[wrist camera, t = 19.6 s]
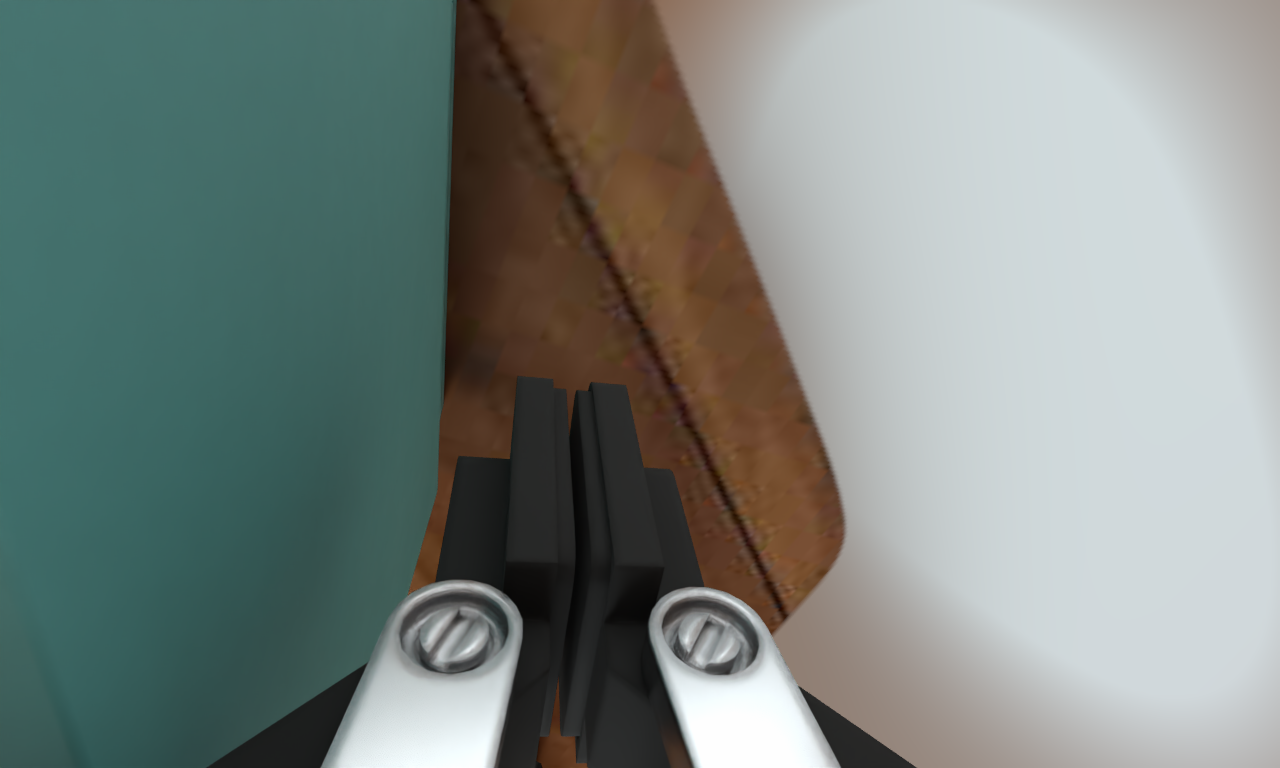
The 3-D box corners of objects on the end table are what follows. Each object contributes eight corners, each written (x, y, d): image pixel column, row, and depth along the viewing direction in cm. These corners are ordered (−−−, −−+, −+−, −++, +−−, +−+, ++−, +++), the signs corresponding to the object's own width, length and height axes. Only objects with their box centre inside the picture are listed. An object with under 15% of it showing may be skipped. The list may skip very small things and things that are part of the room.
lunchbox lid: (163, 1199, 8) (236, 1195, 8) (-622, -309, 2) (-276, -237, 2) (409, 488, 20) (437, 490, 20) (412, -45, 14) (453, -38, 14)
